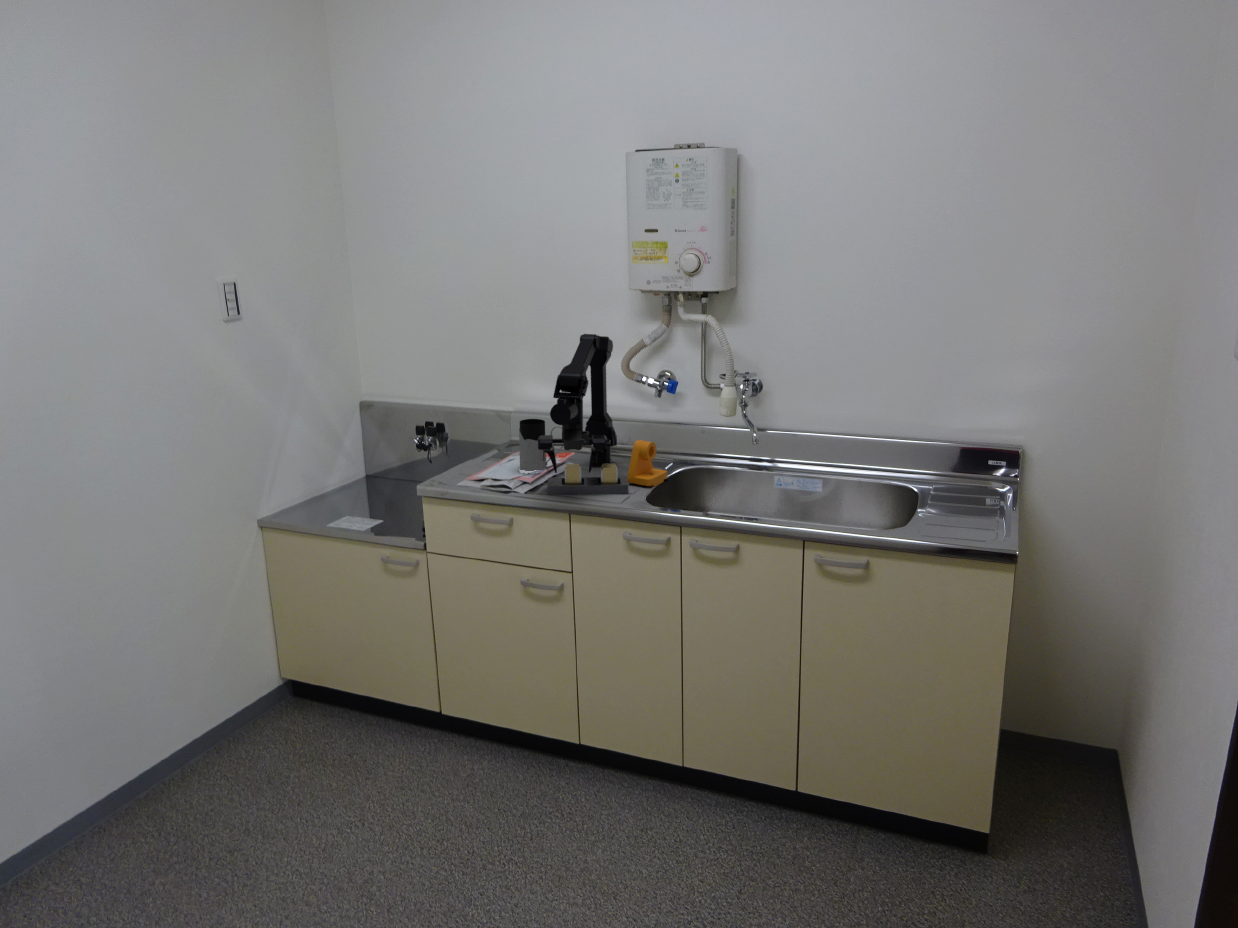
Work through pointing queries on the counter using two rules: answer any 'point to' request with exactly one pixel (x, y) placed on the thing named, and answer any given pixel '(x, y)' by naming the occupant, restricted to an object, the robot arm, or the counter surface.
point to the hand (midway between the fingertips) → (572, 472)
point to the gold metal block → (572, 474)
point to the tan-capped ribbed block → (609, 474)
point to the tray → (586, 486)
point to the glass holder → (532, 445)
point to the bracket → (644, 465)
